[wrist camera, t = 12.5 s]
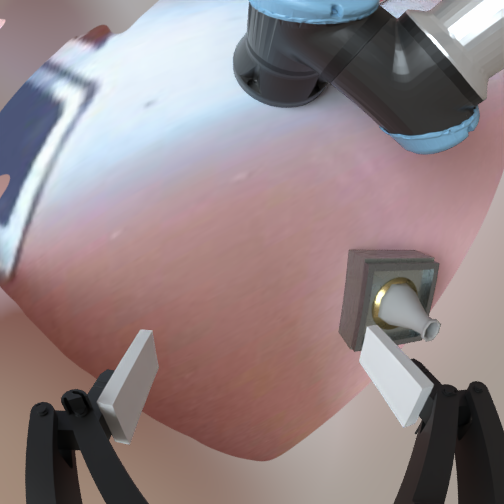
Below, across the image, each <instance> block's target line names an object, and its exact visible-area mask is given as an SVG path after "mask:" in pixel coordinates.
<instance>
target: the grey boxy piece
mask: <svg viewBox="0 0 504 504" xmlns="http://www.w3.org/2000/svg"><path fill="white" fill-rule="evenodd" d="M438 269H439V263H438V262H435V261H434V258H433V257H431V256H428V255H426V254H423V253H421V252H418V251H416V250H349V254H348V264H347V274H346V283H345V291H344V299H343V306H342V313H341V320H340V326H339V334H340V335H341V336H342V338H343V339H344V341H345V342H346V344H347V345H348V347H349V348H350V349H353V350H354V352H355V351H362V347H363V343H364V338H365V333H366V329H367V326H372V325H378V326H379V327H380V328H381V329H382V330H383V331H384V332H385V333H386V334H387V335H388V337H389V338H390V339H391V340H392V341H393V342H394V343H395V344H396V345H400V344H405V343H410V342H415V341H420V340H422V337H421V334H420V333H418V332H416V331H414V330H412V329H408V328H404V327H399V326H394V325H389V324H387V323H386V322H384V321H383V320H382V319H381V318H379V317H378V313H379V307H380V301H381V298H382V297H383V296H384V294H385V293H386V292H387V290H388V289H389V288H390V286H391V285H392V284H401V283H407V284H408V285H409V286H410V287H411V288H412V289H413V290H414V291H415V293H416V294H417V296H418V298H419V301H420V303H421V305H422V306H423V308H424V310H425V312H426V314H427V315H428V316H429V312H430V308H431V304H432V300H433V295H434V290H435V285H436V280H437V275H438Z"/></svg>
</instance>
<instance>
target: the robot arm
mask: <svg viewBox="0 0 504 504" xmlns="http://www.w3.org/2000/svg"><path fill="white" fill-rule="evenodd" d="M248 1H249V9H248V23H247V33H246V34H245V35H244V37H243V38H242V39H241V40H240V42H239V43H238V45H237V46H236V49H235V52H234V56H233V70H234V74H235V77H236V79H237V81H238V83H239V85H240V86H241V87H242V89H243V90H244V91H245V92H246V93H248V94H249V95H250V96H251V97H253V98H254V99H256V100H258V101H260V102H262V103H265V104H268V105H271V106H276V107H296V106H300V105H304V104H306V103H308V102H310V101H312V100H313V99H315V98H316V97H317V96H318V95H319V94H320V93H321V92H322V91H323V90H324V88H325V87H326V85H327V84H328V81H329V82H330V83H331V84H332V85H333V86H334V87H336V88H337V89H338V90H340V91H341V92H342V93H343V94H344V95H346V96H347V97H348V98H349V99H350V100H352V101H353V102H354V103H355V104H356V105H357V106H359V107H360V108H361V109H362V110H363V111H364V112H365V113H366V114H367V115H369V116H370V117H371V118H372V119H373V120H374V121H375V122H376V123H377V124H378V125H379V127H380V129H381V130H382V131H383V132H385V133H386V134H388V135H390V136H391V137H392V138H393V139H394V140H395V141H397V142H398V143H399V144H400V145H401V146H402V147H403V148H404V149H406V150H407V151H411V152H413V153H416V154H434V153H439V152H442V151H445V150H447V149H450V148H452V147H454V146H456V145H457V144H459V143H461V142H462V141H463V140H464V139H466V138H467V137H468V132H470V131H474V129H475V128H476V126H477V124H478V122H479V117H480V113H479V108H478V104H479V103H481V102H482V101H484V100H486V98H487V83H488V80H489V78H490V77H492V76H493V75H495V74H496V73H498V72H499V71H501V70H502V69H504V0H442V1H441V2H439V3H438V4H437V5H436V6H435V7H434V8H432V9H431V10H429V11H419V10H409V9H408V10H406V12H405V13H403V14H402V15H401V16H400V17H399V18H398V19H396V18H395V17H394V16H392V15H391V14H390V13H389V12H387V11H386V10H385V9H384V8H382V7H381V6H380V5H379V2H380V1H379V0H248ZM359 362H360V364H361V365H362V367H363V368H364V369H365V371H366V372H367V374H368V375H369V377H370V378H371V380H372V381H373V383H374V384H375V386H376V387H377V388H378V390H379V392H380V393H381V395H382V396H383V398H384V399H385V401H386V402H387V404H388V405H389V407H390V408H391V410H392V411H393V413H394V414H395V416H396V417H397V419H398V420H399V422H400V423H401V425H402V427H403V428H404V427H407V426H410V425H413V424H415V422H416V420H417V419H418V417H419V416H420V418H421V419H422V421H421V423H420V425H419V427H418V429H417V430H416V432H415V434H417V432H418V434H417V438H416V441H415V445H414V448H413V452H412V455H411V458H410V461H409V465H408V467H407V470H406V473H405V476H404V479H403V482H402V484H401V487H400V489H399V492H398V494H397V497H396V499H395V502H394V504H444V502H445V498H446V494H447V490H448V486H449V480H450V476H451V471H452V466H453V459H454V453H455V460H456V469H457V481H458V504H504V431H503V428H502V425H501V422H500V419H499V416H498V413H497V411H496V408H495V405H494V403H493V400H492V398H491V395H490V393H489V391H488V388H487V387H486V385H484V384H483V383H481V382H477V381H475V382H472V383H470V385H469V387H468V389H467V390H459V391H458V390H457V389H456V388H455V387H454V386H452V385H446V384H444V385H442V384H441V383H440V382H439V381H438V380H437V379H436V378H435V377H434V376H433V375H432V374H431V373H430V372H429V371H428V370H427V369H426V368H425V366H423V364H422V363H420V362H419V361H417V360H415V359H410V358H409V357H408V356H407V355H406V354H405V353H404V352H403V351H402V350H401V349H400V348H399V347H398V346H397V345H396V344H395V343H394V342H393V341H392V340H391V339H390V338H389V337H388V335H387V334H386V333H385V332H384V331H383V330H382V329H381V328H380V327H379V326H378V325H372V326H367V329H366V333H365V338H364V343H363V347H362V351H361V356H360V360H359ZM158 368H159V366H158V361H157V355H156V350H155V344H154V338H153V332H152V330H140V331H139V333H138V334H137V336H136V337H135V339H134V341H133V342H132V344H131V345H130V347H129V349H128V350H127V352H126V353H125V355H124V357H123V358H122V360H121V361H120V363H119V365H118V366H117V368H116V370H115V371H114V370H108V369H107V370H106V371H104V372H103V373H101V374H100V376H99V377H98V379H97V380H96V382H95V383H94V385H93V387H92V388H91V390H90V391H89V393H88V394H86V393H85V392H84V391H82V390H78V389H74V390H70V391H67V392H66V393H65V394H64V395H63V396H62V398H61V403H62V405H63V406H64V409H65V411H56V410H54V408H53V406H52V405H51V404H49V403H47V402H41V403H38V404H35V405H34V406H33V407H32V409H31V413H30V420H29V427H28V437H27V448H26V449H27V450H26V470H25V473H26V474H25V483H26V504H82V499H81V493H80V487H79V481H78V474H77V466H76V457H75V450H81V453H82V455H83V458H84V460H85V462H86V464H87V467H88V469H89V471H90V473H91V475H92V478H93V480H94V481H95V484H96V486H97V487H98V489H99V491H100V493H101V495H102V497H103V499H104V501H105V502H106V504H149V503H148V502H147V501H146V499H145V498H144V497H143V495H142V494H141V492H140V491H139V489H138V488H137V487H136V485H135V484H134V482H133V481H132V479H131V478H130V476H129V474H128V473H127V471H126V469H125V468H124V466H123V465H122V463H121V461H120V459H119V458H118V456H117V454H116V452H115V451H114V449H113V447H112V445H111V443H110V442H109V439H110V437H111V435H112V436H113V438H114V440H115V441H116V442H120V443H124V444H130V442H131V440H132V437H133V434H134V431H135V428H136V426H137V423H138V420H139V417H140V415H141V412H142V409H143V407H144V404H145V401H146V399H147V396H148V393H149V391H150V388H151V386H152V383H153V381H154V378H155V375H156V373H157V370H158Z"/></svg>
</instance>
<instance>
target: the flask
mask: <svg viewBox="0 0 504 504" xmlns="http://www.w3.org/2000/svg"><path fill="white" fill-rule="evenodd" d="M378 317H379V318H381V319H382V320H383V321H384V322H386V323H387V324H389V325H394V326H399V327H404V328H408V329H412V330H414V331H416V332H418V333H420V334H421V337H422V338H423V339H424V340H425V341H431V340H433V339H434V338H435V337H436V335H437V334H438V333H439V329H440V326H441V324H440V323H439V322H438V321H437V320H436V319H431V318H430V317H429V316H428V315H427V314H426V312H425V310H424V308H423V306H422V305H421V303H420V301H419V298H418V296H417V294H416V293H415V291H414V290H413V289H412V288H411V287H410V286H409V285H408V284H407V283H401V284H392V285H391V286H390V288H389V289H388V290H387V292H386V293H385V294H384V296H383V297H382V298H381V301H380V307H379V313H378Z"/></svg>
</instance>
